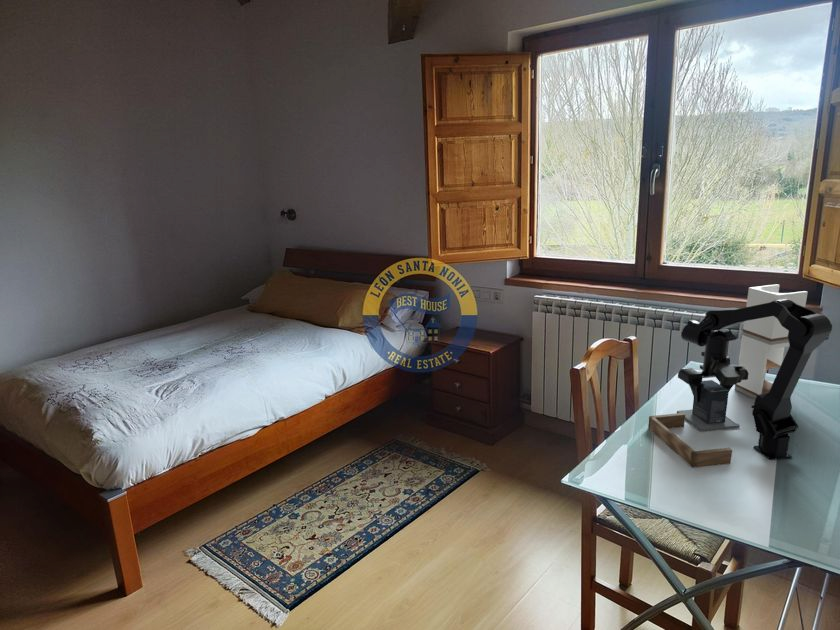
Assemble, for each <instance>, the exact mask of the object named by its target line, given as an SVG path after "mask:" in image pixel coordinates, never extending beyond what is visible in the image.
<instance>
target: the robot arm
mask: <svg viewBox="0 0 840 630" xmlns="http://www.w3.org/2000/svg"><path fill="white" fill-rule="evenodd" d="M770 316H774V317H776V318H777V319H778V321H779V322H780V324H781V325H782V326H783V327H784V328H786V329H787V330H788V331H789V332H788V340H789V346H788V349H787V351H786V354H785V355H784V356H783V360H782V364H781V366H780V368H779V369H778V371H777V373H776V376H775V378H774V381H773V382H772V383H773V384H772V386H771V389H770V391H769V392H768V393H764V394H760V395H757V397H756V399H754V404H752V405H751V406H750V408H752V412H751V413H752V414H751V415H752V416H753V420H754V425H755V430H756V432H757V433H759V436H758V437H759V438H758V443H757V444H758V445H753V446H752V448H753V449H754V450H755V451H756V452H758V453H760V454H761V455H762V456H763V457H765V458H767V459H768V460H770V461H772V460H782V459H790V458H793V455H792V454H790V453H789V452H788V450H789V445H790V439H791V436H789V434H792V433H795V432H796V431H797V430H798V429H799V425H798V424H797V422H796V420H795V419H794V417H793V415H792V414H791V413H792V408H793V406H792V405H793V403H792V401H791V397H792V395H793V393H794V391H795V389H796V387H797V384H798V382H799V381H800V379H801V376H802V374H803V372H804V370H805V369H806V365H807V363H808V361H809V359H810V357H811V355H812V353H813V351H815V350H816V349H817V348H818V347H819V346H820V345H821V344H822V343H824V341H825V340H826V339H827V338H828V336H829V335H830V334H831V332H832V329H833V324H832V323H831V321H830V319H829V318H828V316H826V315H824V314H822V313H817V312H816V311H814V310H812V309H811V308H808V307H806V306H805V307H803V306H800V305H798V304H796V303H794V302H793V301H791V300H789V299H780V300H774V301H772V302H769V303H764V304H760V305H755V306H750V307H746V306H745V307H741V308H740V307H739V308H738V307H723V308H716V309H713V310H708V311H706V312H705V316H704V318H703V319H702V320H701V321H700V322H699V321H697V320H695V319H690V320H688V321H687V324H686V325H685V326H684V327H683V328H682V331H681V333H680V334H681V339H682V340H683V341H684V342H688V343H690V344H692V345H694V346H695V345H696V346H699V347H704V351H701V352H700V353H701V354H700V355H701V356H702V357H703V362H702V363H703V364H699V369H700V371H697V370H696V369H694V368H692V367H689V368H688V367H687V368H680V369H679V370H678V373H677V378H678V379H679V380H681V381H683V382H684V383H686V384H687V385H688V386H689V388H690V390H691V394H692V395H693V400H694V399H695V401H696V402H697V403H699V400H700V394H701V388H702V387H703V386H704V384H703V383H701V382H702V381H703V379H707V378H716V379H717V381H718V382H719V385H721V386H723V387H725V388H726V389H728V390H729V392H730V391H731V389H732V387H733V386H735V385H736V384H737V383H740V382H741V380H748V375H749V373H748V371H747V370H746V369H745V368H744V367H743V366H739V365H738V364H737V363H735V364H731V359H730V356H728V349H729V343H730V342H731V341H736V340H737V339H738V338H737V336H736V335H735V334H734V333H733V332H732V331H731V330H728V331H722V330H724V329H730V328H734V327H735V326H738V325H740V324H742V323H744V321H748V320H753V319H759V318H765V317H770ZM701 370H702V371H701Z"/></svg>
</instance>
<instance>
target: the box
mask: <svg viewBox="0 0 840 630" xmlns="http://www.w3.org/2000/svg"><path fill="white" fill-rule="evenodd" d="M701 383H703V384H704V386H703V387H702V388H701V394H700V400H699V403H697V402H696V401H695V399H694V398H693V401H692V409H693V410H692V409H691V410H692V413H693V414H694V415H696V416H697V417H698V418H700V419H701V420H702V421H704V422H705V423H707V424H719V423H725V418H726V417H727V409H728V402H729V401H728V400H729V395H730V394H729V393H730V391H729V390H728V389H726V388H725V387H723V386H721V385H720V383H718V382H716V381H714V380H712V379H711V380H710V379H709V380H702V382H701Z"/></svg>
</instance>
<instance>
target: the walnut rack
mask: <svg viewBox="0 0 840 630" xmlns="http://www.w3.org/2000/svg"><path fill="white" fill-rule="evenodd" d="M648 416H649V415H648ZM685 421H686V420H685V414H684V413H677V412H676V413H668V414H658V415H657V414H656V415H650V416H649V417H648V427H647V429H648V428H649V429H648V430H649V431H650V432H651V433H653V434H654V435H655V436H656V437H657V438H658V439H659V440H661V441H662V443H664V444H665V445H666V446H668V448H669V449H671V450H672V451H673V452H674V453H675V454H676V455H677V456H679V457H680V458H681V460H683V461H684V462H685V463H687V464H688V465H689V466H690V467H691V469H693V468H695V469H696V468H704V467H713V466H721V465H722V466H723V465H730V464H731V461H732V456H733V449H732V448H731V447H722V448H721V447H720V448H711V449H703V450H694V449H693V448H692V447H691V446H689V445H688V444H687V443H686V442H685V441H683V439H681V438H680V437H679V436H678V435H676V434H675V433H674V432H673V431H671V430H670V429H675V428H676V429H678V428H679V429H680V428H685V423H686V422H685Z"/></svg>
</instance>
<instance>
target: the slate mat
mask: <svg viewBox="0 0 840 630" xmlns="http://www.w3.org/2000/svg"><path fill="white" fill-rule="evenodd" d="M692 410H693V408H692V409H685V410H684V409H682V410H676V413H684V414H685V421H686V422H687V423H688V424H690V425H691V426H693V427H694V428H695V429H696V430H698V431H700V432H701V433H702V432H711V431H720V430H721V431H722V430H723V431H724V430H731V429H732V430H733V429H734V430H735V429H740V425H739V424H738V423H737V422H735V421H734V420H732V419H731V418H729V417H728V416H726V418H725V423H719V424H707V423H705V422H704V421H702V420H701V419H700V418H698V417H697V416H696V415H694V414H693V413H692Z"/></svg>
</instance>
